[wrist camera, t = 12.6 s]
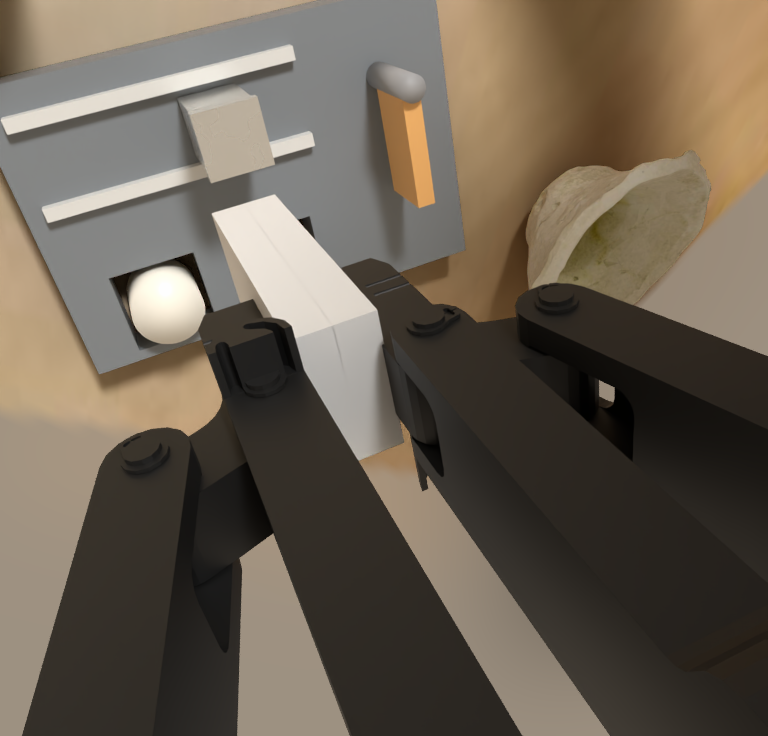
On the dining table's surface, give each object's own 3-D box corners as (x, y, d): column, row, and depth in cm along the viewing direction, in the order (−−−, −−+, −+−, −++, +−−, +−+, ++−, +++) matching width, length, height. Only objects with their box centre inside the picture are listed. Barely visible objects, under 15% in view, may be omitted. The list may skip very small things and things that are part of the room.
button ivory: (116, 270, 42) (120, 292, 39) (184, 249, 43) (192, 269, 40) (140, 328, 44) (146, 353, 41) (204, 307, 45) (214, 330, 42)
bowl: (517, 351, 57) (594, 418, 49) (438, 214, 48) (515, 268, 40) (668, 235, 57) (770, 282, 49) (615, 78, 48) (727, 104, 40)
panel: (-30, 84, 35) (-37, 94, 33) (414, -24, 41) (438, -22, 38) (97, 355, 44) (99, 379, 42) (449, 237, 49) (469, 253, 47)
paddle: (364, 65, 39) (398, 77, 35) (388, 58, 40) (424, 70, 36) (386, 187, 43) (418, 211, 39) (407, 181, 43) (441, 203, 40)
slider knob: (174, 96, 37) (189, 115, 32) (235, 80, 37) (257, 96, 33) (194, 158, 38) (210, 183, 34) (251, 141, 39) (275, 164, 35)
